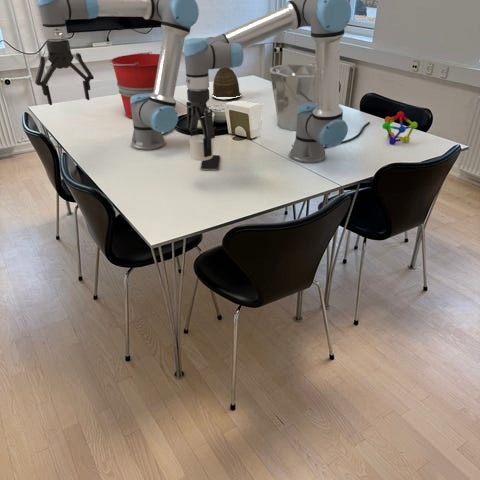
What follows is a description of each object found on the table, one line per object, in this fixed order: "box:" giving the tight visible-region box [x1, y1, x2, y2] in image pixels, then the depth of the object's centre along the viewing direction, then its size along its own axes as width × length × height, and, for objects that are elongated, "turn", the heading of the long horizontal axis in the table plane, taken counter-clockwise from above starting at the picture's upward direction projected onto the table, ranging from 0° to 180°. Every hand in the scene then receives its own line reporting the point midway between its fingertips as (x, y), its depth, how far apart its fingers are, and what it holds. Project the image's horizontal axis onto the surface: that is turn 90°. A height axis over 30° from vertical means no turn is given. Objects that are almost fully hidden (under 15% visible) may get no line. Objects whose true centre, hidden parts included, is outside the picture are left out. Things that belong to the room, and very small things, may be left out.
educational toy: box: [382, 110, 418, 145], centre depth 207 cm, size 16×13×15 cm
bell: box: [212, 68, 242, 97], centre depth 278 cm, size 19×26×20 cm
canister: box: [188, 133, 214, 162], centre depth 161 cm, size 8×8×7 cm
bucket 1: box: [107, 51, 160, 120], centre depth 242 cm, size 35×35×30 cm
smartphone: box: [200, 154, 221, 171], centre depth 188 cm, size 7×1×15 cm
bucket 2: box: [269, 63, 316, 131], centre depth 226 cm, size 30×30×28 cm
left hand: (69, 101), depth 165 cm, fingers open, 13 cm apart
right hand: (201, 152), depth 162 cm, fingers closed on canister, 8 cm apart
